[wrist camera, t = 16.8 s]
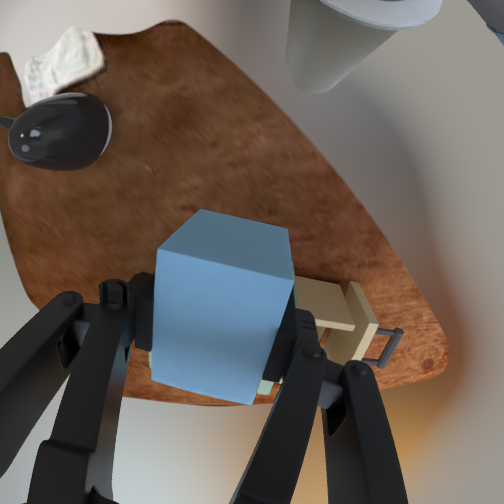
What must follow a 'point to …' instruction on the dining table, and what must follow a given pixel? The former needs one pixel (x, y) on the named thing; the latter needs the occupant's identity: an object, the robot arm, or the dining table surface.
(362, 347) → the drawer
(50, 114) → the black bell
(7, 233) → the dining table surface
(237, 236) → the blue cuboid
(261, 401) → the dining table surface
